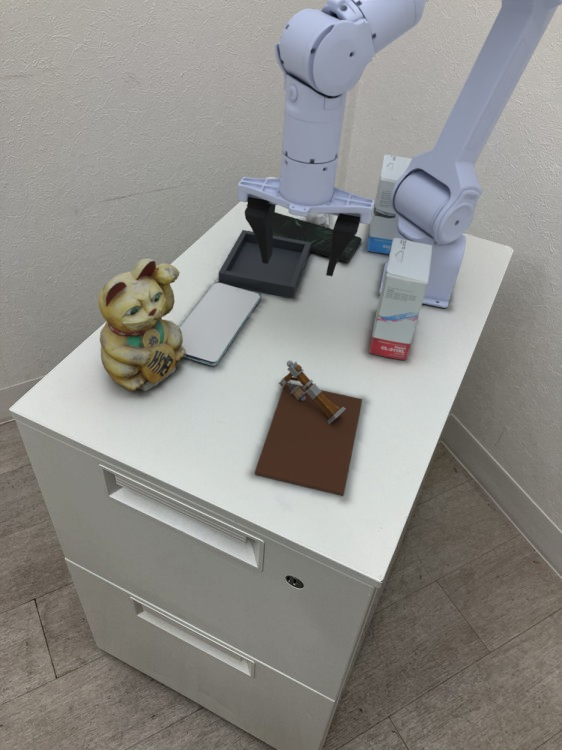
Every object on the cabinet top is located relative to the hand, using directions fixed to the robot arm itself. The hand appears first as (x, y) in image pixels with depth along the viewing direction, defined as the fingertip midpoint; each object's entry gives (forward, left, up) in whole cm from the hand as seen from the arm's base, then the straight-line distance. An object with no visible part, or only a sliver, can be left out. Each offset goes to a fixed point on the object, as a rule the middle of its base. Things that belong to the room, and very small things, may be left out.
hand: (298, 265), depth 67 cm
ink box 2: (-13, -2, -10) cm, 16 cm away
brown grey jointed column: (-5, +13, -9) cm, 17 cm away
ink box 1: (-9, -25, -10) cm, 28 cm away
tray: (+6, -11, -9) cm, 16 cm away
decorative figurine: (+15, +13, -10) cm, 22 cm away
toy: (0, -28, -8) cm, 29 cm away
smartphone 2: (+2, -21, -9) cm, 23 cm away
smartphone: (+9, +3, -9) cm, 14 cm away
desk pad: (-6, +17, -9) cm, 20 cm away
